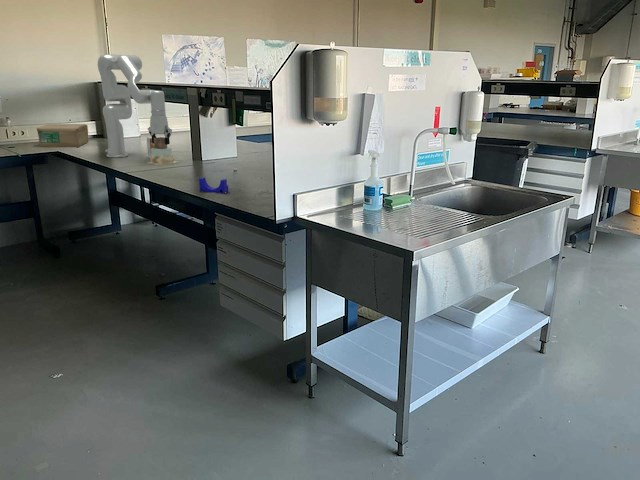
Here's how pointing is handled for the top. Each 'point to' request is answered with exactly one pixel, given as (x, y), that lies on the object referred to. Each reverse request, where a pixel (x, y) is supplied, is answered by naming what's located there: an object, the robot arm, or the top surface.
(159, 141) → the walnut block
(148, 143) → the small box
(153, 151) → the tower top
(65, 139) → the paper package
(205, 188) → the blue cradle block
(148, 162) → the cork mat
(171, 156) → the tower base
